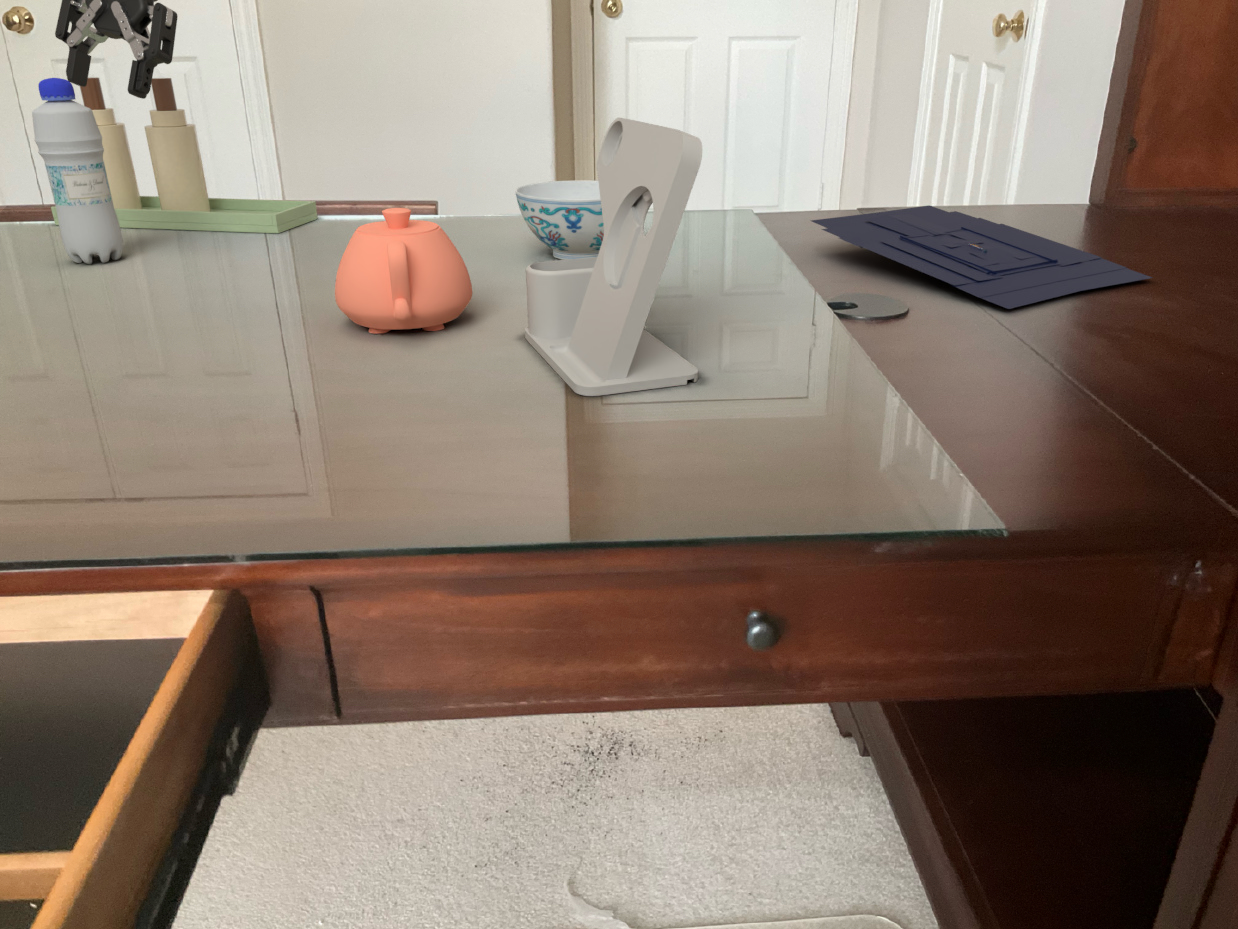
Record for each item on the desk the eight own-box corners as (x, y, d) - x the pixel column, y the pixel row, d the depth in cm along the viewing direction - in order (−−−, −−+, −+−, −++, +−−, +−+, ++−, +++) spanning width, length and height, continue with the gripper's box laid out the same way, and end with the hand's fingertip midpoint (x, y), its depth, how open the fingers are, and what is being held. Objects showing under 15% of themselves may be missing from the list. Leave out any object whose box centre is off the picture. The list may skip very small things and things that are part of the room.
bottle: (78, 268, 106) (31, 79, 97) (57, 260, 110) (9, 77, 102) (138, 259, 110) (98, 77, 102) (115, 251, 114) (75, 75, 106)
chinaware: (543, 274, 103) (540, 203, 100) (502, 248, 115) (499, 184, 112) (664, 262, 108) (665, 194, 105) (612, 238, 121) (612, 177, 118)
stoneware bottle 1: (86, 212, 134) (54, 77, 126) (131, 207, 138) (102, 76, 131) (105, 217, 130) (73, 78, 122) (150, 211, 134) (122, 77, 127)
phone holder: (520, 333, 83) (510, 117, 75) (627, 322, 86) (627, 114, 78) (580, 397, 68) (575, 137, 60) (706, 381, 71) (716, 132, 63)
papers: (934, 224, 122) (941, 197, 120) (1145, 301, 101) (1157, 269, 99) (793, 244, 111) (798, 214, 109) (998, 336, 89) (1009, 300, 87)
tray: (55, 225, 131) (50, 206, 130) (108, 211, 141) (105, 194, 140) (278, 233, 125) (275, 214, 124) (318, 218, 135) (315, 201, 134)
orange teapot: (472, 301, 92) (465, 196, 88) (477, 343, 80) (469, 222, 76) (345, 307, 91) (331, 199, 86) (330, 351, 78) (313, 227, 74)
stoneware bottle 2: (154, 215, 132) (126, 78, 124) (197, 209, 136) (173, 76, 129) (175, 220, 128) (147, 79, 121) (219, 214, 133) (195, 77, 125)
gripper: (204, -30, 108) (179, 110, 110) (104, -46, 112) (81, 90, 113) (158, -61, 101) (132, 89, 103) (52, -78, 104) (29, 68, 106)
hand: (106, 90), depth 108 cm, fingers open, 8 cm apart
